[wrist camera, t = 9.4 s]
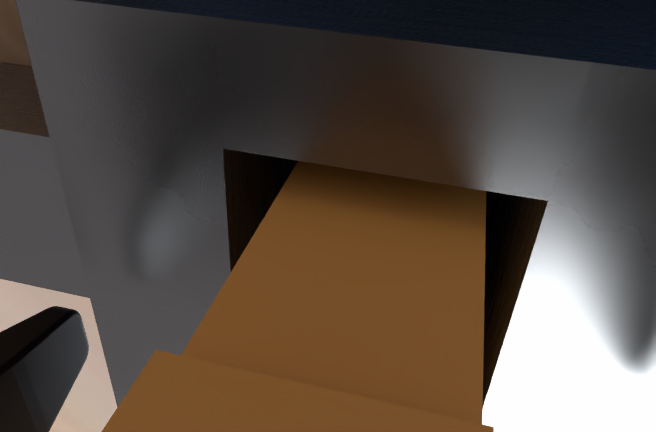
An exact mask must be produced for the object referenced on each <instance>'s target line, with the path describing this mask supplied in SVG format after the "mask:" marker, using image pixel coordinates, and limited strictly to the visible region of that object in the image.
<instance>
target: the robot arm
mask: <svg viewBox="0 0 656 432" xmlns="http://www.w3.org/2000/svg"><path fill="white" fill-rule="evenodd" d="M88 350H89V345H88V341H87V337H86V333H85V329H84V326H83V322H82V318H81V316H80V314H79V313H78V312H77V311H76V310H72V309H68V308H63V307H58V306H54V307H50V308H48V309H45V310H44V311H42V312H40V313H38V314H36V315H34V316H32V317H30V318H28V319H26V320H24V321H22V322H20V323H18V324H16V325H14V326H12V327H10V328H8V329H6V330H4V331H2V332H0V432H49V430H50V429H51V427H52V425H53V423H54V421H55V419H56V417H57V415H58V413H59V411H60V409H61V407H62V405H63V403H64V401H65V399H66V398H67V396H68V394H69V392H70V390H71V388H72V386H73V384H74V382H75V380H76V378H77V376H78V374H79V372H80V370H81V369H82V367H83V365H84V363H85V361H86V358H87V355H88Z"/></svg>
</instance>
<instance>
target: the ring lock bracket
mask: <svg viewBox="0 0 656 432" xmlns="http://www.w3.org/2000/svg"><path fill="white" fill-rule="evenodd" d="M15 1H16V5H17V9H18V13H19V17H20V21H21V25H22V29H23V33H24V37H25V41H26V45H27V49H28V53H29V57H30V61H31V65H32V67H28V66H21V65H14V64H7V63H0V279H4V280H9V281H14V282H18V283H23V284H28V285H32V286H37V287H41V288H46V289H51V290H55V291H60V292H64V293H69V294H74V295H78V296H83V297H88V298H90V299H91V303H92V307H93V311H94V315H95V319H96V323H97V327H98V331H99V335H100V339H101V343H102V347H103V351H104V355H105V359H106V363H107V367H108V371H109V375H110V379H111V383H112V387H113V391H114V395H115V399H116V403H117V407H118V406H119V405H120V403H121V402H122V400H123V399H124V397H125V396H126V394H127V393H128V391H129V390H130V388H131V387H132V385H133V384H134V382H135V380H136V379H137V377H138V376H139V374H140V373H141V371H142V370H143V368H144V367H145V365H146V364H147V362H148V361H149V359H150V358H151V356H152V355H153V353H154V352H155V350H159V351H163V352H168V353H172V354H177V355H181V354H182V352H183V351H184V349H185V348H186V346H187V344H188V343H189V341H190V339H191V338H192V336H193V334H194V333H195V331H196V329H197V328H198V326H199V324H200V323H201V321H202V319H203V318H204V316H205V314H206V313H207V311H208V309H209V308H210V306H211V304H212V303H213V301H214V300H215V298H216V296H217V295H218V293H219V291H220V290H221V288H222V286H223V285H224V283H225V281H226V280H227V278H228V276H229V275H230V273H231V271H232V270H233V268H234V266H235V265H236V263H237V261H238V260H239V258H240V256H241V255H242V253H243V252H244V250H245V248H246V247H247V245H248V243H249V242H250V240H251V238H252V237H253V235H254V233H255V232H256V230H257V228H258V227H259V225H260V223H261V222H262V220H263V218H264V217H265V215H266V213H267V212H268V210H269V208H270V207H271V205H272V204H273V202H274V200H275V199H276V197H277V195H278V194H279V192H280V190H281V189H282V187H283V185H284V184H285V182H286V180H287V179H288V177H289V175H290V174H291V172H292V170H293V169H294V167H295V165H296V164H297V162H298V161H303V162H309V163H315V164H321V165H328V166H334V167H340V168H346V169H353V170H359V171H365V172H371V173H378V174H384V175H390V176H396V177H402V178H409V179H415V180H421V181H427V182H434V183H440V184H446V185H452V186H459V187H465V188H471V189H477V190H484V191H490V192H496V193H500V196H499V200H498V204H497V208H496V212H495V216H494V220H493V224H492V227H491V231H490V235H489V239H488V243H487V247H486V251H485V297H484V355H483V413H482V424H483V425H487V426H492V427H494V432H656V0H15Z"/></svg>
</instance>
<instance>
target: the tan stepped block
mask: <svg viewBox="0 0 656 432" xmlns="http://www.w3.org/2000/svg"><path fill="white" fill-rule="evenodd" d="M485 239H486V191H484V190H477V189H471V188H465V187H459V186H452V185H446V184H440V183H434V182H427V181H421V180H415V179H409V178H402V177H396V176H390V175H384V174H378V173H371V172H365V171H359V170H353V169H346V168H340V167H334V166H328V165H321V164H315V163H309V162H303V161H298V162H297V164H296V165H295V167H294V169H293V170H292V172H291V174H290V175H289V177H288V179H287V180H286V182H285V184H284V185H283V187H282V189H281V190H280V192H279V194H278V195H277V197H276V199H275V200H274V202H273V204H272V205H271V207H270V208H269V210H268V212H267V213H266V215H265V217H264V218H263V220H262V222H261V223H260V225H259V227H258V228H257V230H256V232H255V233H254V235H253V237H252V238H251V240H250V242H249V243H248V245H247V247H246V248H245V250H244V252H243V253H242V255H241V256H240V258H239V260H238V261H237V263H236V265H235V266H234V268H233V270H232V271H231V273H230V275H229V276H228V278H227V280H226V281H225V283H224V285H223V286H222V288H221V290H220V291H219V293H218V295H217V296H216V298H215V300H214V301H213V303H212V304H211V306H210V308H209V309H208V311H207V313H206V314H205V316H204V318H203V319H202V321H201V323H200V324H199V326H198V328H197V329H196V331H195V333H194V334H193V336H192V338H191V339H190V341H189V343H188V344H187V346H186V348H185V349H184V351H183V352H182V354H181V355H177V354H172V353H168V352H163V351H159V350H155V352H154V353H153V355H152V356H151V358H150V359H149V361H148V362H147V364H146V365H145V367H144V368H143V370H142V371H141V373H140V374H139V376H138V377H137V379H136V380H135V382H134V384H133V385H132V387H131V388H130V390H129V391H128V393H127V394H126V396H125V397H124V399H123V400H122V402H121V403H120V405H119V406H118V408H117V409H116V411H115V412H114V414H113V415H112V417H111V418H110V420H109V421H108V423H107V424H106V426H105V427H104V429H103V431H102V432H494V427H492V426H487V425H483V424H482V413H483V355H484V297H485Z"/></svg>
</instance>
